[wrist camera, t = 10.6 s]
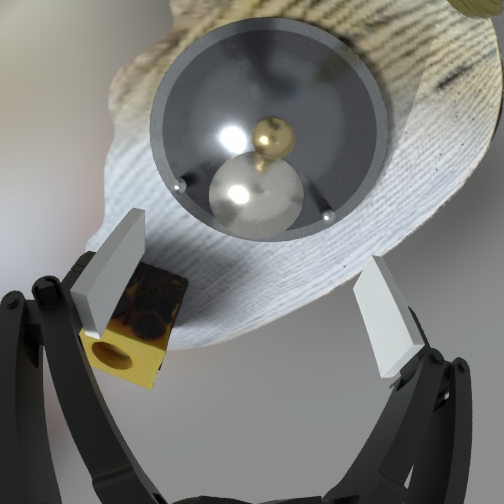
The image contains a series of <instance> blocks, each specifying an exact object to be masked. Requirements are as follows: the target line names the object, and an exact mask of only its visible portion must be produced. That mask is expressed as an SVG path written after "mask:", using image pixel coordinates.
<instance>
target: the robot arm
mask: <svg viewBox="0 0 504 504" xmlns="http://www.w3.org/2000/svg"><path fill="white" fill-rule="evenodd" d="M144 252H145V210H142V209H136V208H132V209H131V210H130V211H129V212H128V214H127V215H126V216H125V217H124V218H123V220H122V221H121V222H120V223H119V224H118V226H117V227H116V228H115V229H114V231H113V232H112V233H111V234H110V236H109V237H108V238H107V239H106V241H105V242H104V243H103V245H102V246H101V247H100V249H99V250H98V251H97V253H96V252H92V251H88V252H86V253H85V254H83V255H82V256H80V258H79V259H78V260H77V261H76V263H75V265H73V267H72V268H71V271H69V272H68V273H67V275H66V277H65V278H64V279H63V280H62V282H61V283H60V281H59V279H58V278H56V277H55V276H50V275H49V276H44V277H42V278H39V279H38V280H37V281H36V282H35V283H34V285H33V286H32V294H33V296H34V299H35V300H25V298H24V296H23V294H22V293H21V292H20V291H11V292H9V293H8V294H6V295H5V296H4V297H3V299H2V301H1V304H0V504H62V502H61V496H60V492H59V487H58V483H57V480H56V476H55V471H54V467H53V463H52V458H51V452H50V447H49V441H48V434H47V427H46V418H45V408H44V394H43V393H44V392H43V346H44V347H45V351H46V356H47V360H48V364H49V368H50V372H51V376H52V379H53V383H54V387H55V390H56V393H57V396H58V400H59V403H60V405H61V408H62V411H63V414H64V417H65V419H66V422H67V425H68V427H69V430H70V432H71V435H72V437H73V439H74V442H75V444H76V446H77V448H78V450H79V453H80V455H81V457H82V459H83V461H84V463H85V465H86V467H87V469H88V471H89V473H90V475H91V477H92V485H93V487H94V490H95V492H96V494H97V496H98V498H99V499H100V501H101V503H102V504H168V503H167V502H166V500H165V499H164V498H163V496H162V495H161V494H160V492H159V491H158V490H157V488H156V487H155V486H154V484H153V483H152V482H151V480H150V479H149V478H148V477H147V475H146V474H145V473H144V471H143V470H142V468H141V466H140V465H139V463H138V462H137V460H136V459H135V457H134V456H133V454H132V452H131V450H130V448H129V447H128V445H127V443H126V441H125V440H124V438H123V436H122V434H121V432H120V431H119V429H118V427H117V425H116V423H115V421H114V419H113V417H112V415H111V413H110V411H109V409H108V407H107V404H106V402H105V400H104V398H103V395H102V393H101V391H100V389H99V386H98V384H97V382H96V379H95V377H94V374H93V371H92V369H91V366H90V363H89V361H88V358H87V355H86V352H85V349H84V346H83V343H82V340H81V337H80V335H79V333H80V331H81V330H82V328H83V329H84V332H85V334H86V335H87V336H90V337H93V338H96V339H101V337H102V335H103V333H104V331H105V328H106V326H107V324H108V322H109V320H110V318H111V316H112V313H113V311H114V309H115V307H116V305H117V303H118V301H119V299H120V297H121V295H122V293H123V291H124V289H125V287H126V285H127V283H128V282H129V280H130V278H131V276H132V274H133V272H134V270H135V268H136V267H137V265H138V263H139V261H140V259H141V258H142V256H143V254H144ZM353 290H354V293H355V296H356V299H357V301H358V304H359V307H360V310H361V313H362V315H363V319H364V322H365V325H366V328H367V331H368V334H369V337H370V341H371V344H372V347H373V350H374V354H375V357H376V361H377V364H378V368H379V371H380V375H381V377H382V378H384V377H393V376H394V375H395V374H397V373H398V372H399V371H400V373H401V376H400V377H399V378H398V379H397V380H396V381H395V382H394V383H393V384H392V385H391V386H390V387H389V388H391V387H393V386H394V389H393V391H392V393H391V395H390V397H389V399H388V402H387V404H386V406H385V408H384V410H383V412H382V414H381V416H380V418H379V420H378V422H377V424H376V425H375V427H374V429H373V431H372V433H371V434H370V436H369V438H368V439H367V441H366V443H365V445H364V446H363V448H362V450H361V451H360V453H359V454H358V456H357V458H356V459H355V461H354V462H353V464H352V466H351V467H350V468H349V470H348V471H347V473H346V474H345V476H344V477H343V479H342V480H341V481H340V482H339V483H338V484H337V485H336V486H335V487H333V488H332V489H331V490H330V491H328V493H327V494H326V495H325V496H324V497H323V498H322V499H321V496H315V497H306V498H294V499H284V500H274V501H269V502H264V503H259V504H403V503H404V504H463V503H464V499H465V493H466V488H467V482H468V475H469V467H470V458H471V445H472V392H471V377H470V369H469V366H468V364H467V362H466V361H465V360H464V359H462V358H460V357H458V358H456V359H455V360H454V361H453V362H452V363H451V362H448V361H445V360H444V358H443V356H442V354H441V353H440V352H439V351H438V350H436V349H434V348H431V347H430V345H429V343H428V340H427V338H426V336H425V334H424V331H423V329H422V328H421V325H420V323H419V322H418V319H417V316H416V314H415V313H414V312H413V311H412V309H411V308H410V307H408V306H407V304H406V302H405V300H404V298H403V296H402V294H401V292H400V290H399V288H398V286H397V285H396V283H395V281H394V279H393V277H392V275H391V273H390V271H389V270H388V268H387V266H386V264H385V262H384V261H383V259H382V257H379V256H374V255H371V257H370V259H369V261H368V262H367V264H366V266H365V268H364V270H363V272H362V274H361V275H360V277H359V279H358V281H357V283H356V284H355V286H354V288H353ZM448 392H449V397H448V398H447V399H445V395H446V394H447V393H448ZM414 461H415V462H414ZM413 464H414V466H413ZM412 466H413V471H412V475H411V479H410V483H409V487H408V489H407V488H406V487H404V483H405V481H406V479H407V477H408V475H409V473H410V470H411V468H412ZM173 504H252V503H247V502H244V501H240V500H236V499H230V498H219V497H209V496H199V497H193V498H187V499H183V500H180V501H177V502H174V503H173Z"/></svg>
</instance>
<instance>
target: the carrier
mask: <svg viewBox="0 0 504 504" xmlns="http://www.w3.org/2000/svg"><path fill="white" fill-rule="evenodd" d="M150 142H151V148H152V153H153V157H154V161H155V163H156V166H157V169H158V171H159V174H160V176H161V178H162V179H163V181H164V183H165V185H166V187H167V188H168V189H169V191H170V192H171V194H172V195H173V196H174V198H175V199H176V200H177V201H178V202H179V203H180V204H181V205H182V206H183V208H185V209H186V210H187V211H188V212H189V213H190V214H192V215H193V216H194V217H195V218H197V219H198V220H200V221H201V222H203V223H204V224H206V225H207V226H209V227H211V228H213V229H215V230H217V231H219V232H222V233H225V234H227V235H230V236H233V237H237V238H241V239H245V240H251V241H259V242H280V241H289V240H294V239H299V238H303V237H307V236H310V235H313V234H316V233H318V232H320V231H322V230H324V229H327V228H329V227H330V226H332V225H334V224H335V223H337V222H339V221H340V220H341V219H343V218H344V217H345V216H347V215H348V214H349V213H351V212H352V211H353V210H354V209H355V208H356V207H357V206H358V205H359V204H360V203H361V201H362V200H363V199H364V198H365V196H366V195H367V194H368V193H369V191H370V190H371V188H372V186H373V185H374V183H375V181H376V179H377V177H378V175H379V173H380V170H381V168H382V165H383V162H384V158H385V155H386V149H387V142H388V120H387V112H386V108H385V104H384V100H383V97H382V94H381V92H380V89H379V87H378V85H377V82H376V80H375V79H374V77H373V75H372V74H371V72H370V71H369V69H368V67H367V66H366V65H365V64H364V63H363V61H362V60H361V59H360V58H359V56H358V55H357V54H356V53H354V52H353V51H352V50H351V49H350V48H349V47H348V46H347V45H346V44H344V43H343V42H342V41H340V40H339V39H337V38H336V37H334V36H333V35H331V34H329V33H327V32H325V31H323V30H321V29H319V28H317V27H315V26H312V25H309V24H306V23H303V22H300V21H295V20H290V19H285V18H271V17H263V18H251V19H245V20H241V21H236V22H232V23H229V24H227V25H224V26H221V27H219V28H216V29H214V30H212V31H210V32H209V33H207V34H205V35H203V36H201V37H200V38H199V39H197V40H196V41H195V42H193V43H192V44H191V45H189V46H188V47H187V48H186V49H185V50H184V51H183V52H182V53H181V54H180V55H179V56H178V57H177V58H176V59H175V60H174V62H173V63H172V64H171V66H170V67H169V69H168V70H167V71H166V73H165V75H164V77H163V79H162V80H161V82H160V84H159V86H158V89H157V92H156V95H155V97H154V100H153V105H152V110H151V115H150Z"/></svg>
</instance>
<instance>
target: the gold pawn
mask: <svg viewBox="0 0 504 504" xmlns="http://www.w3.org/2000/svg"><path fill="white" fill-rule="evenodd" d="M447 1H448V2H449V3H450V4H451V5H452V6H453V7H454V8H455V9H456V10H457V11H459V12H460V13H461V14H463V15H465V16H466V17H469V18H472V19H479V18H483V19H487V18H489V17H492V18H500V17H502V16H503V15H504V0H447Z"/></svg>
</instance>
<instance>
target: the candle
mask: <svg viewBox="0 0 504 504" xmlns="http://www.w3.org/2000/svg"><path fill="white" fill-rule="evenodd" d="M187 286H188V280H187V279H185V278H181V277H179V276H177V275H173V274H170V273H169V272H167V271H164V270H160V269H158V268H156V267H153V266H150V265H146V264H144V263H143V262H139V263H138V265H137V267H136V268H135V270H134V272H133V274H132V276H131V278H130V280H129V282H128V283H127V285H126V287H125V289H124V291H123V293H122V295H121V297H120V299H119V301H118V303H117V305H116V307H115V309H114V311H113V313H112V316H111V318H110V320H109V322H108V324H107V326H106V328H105V331H104V333H103V335H102V337H101V339H96V338H93V337H90V336H87V335H86V334H85V332H84V329H83V328H82V330H81V331H80V333H79V335H80V337H81V340H82V343H83V346H84V349H85V352H86V355H87V358H88V361H89V363H90V365H91V366H93V367H95V368H98V369H100V370H102V371H104V372H106V373H109V374H111V375H114V376H117V377H119V378H122V379H125V380H128V381H130V382H133V383H136V384H138V385H141V386H143V387H146V388H148V389H152V388H153V385H154V384H153V381H154V379H155V376H156V374H157V371H158V370H160V368H161V364H162V361H163V358H164V356H165V354H166V350H167V345H168V341H169V337H170V334H171V330H172V329H173V326H174V323H175V319H176V317H177V315H178V312H179V309H180V306H181V304H182V300H183V296H184V293H185V291H186V289H187Z"/></svg>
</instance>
